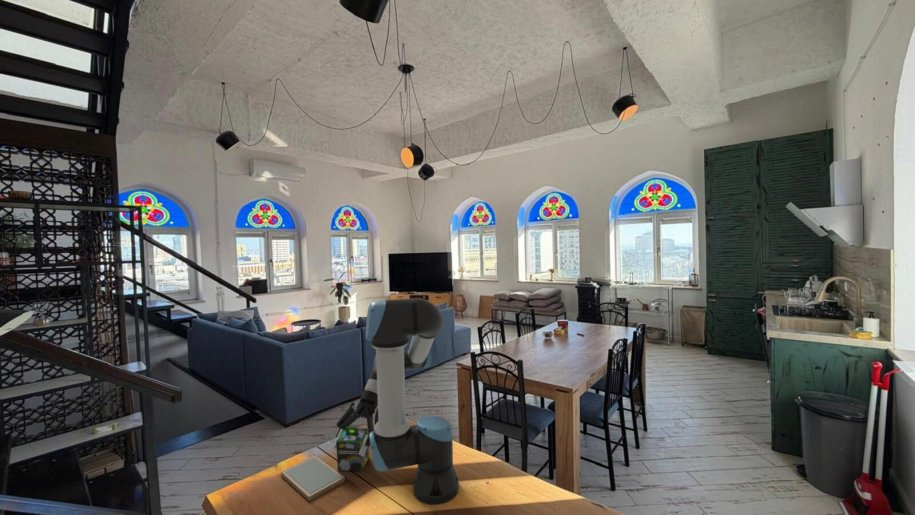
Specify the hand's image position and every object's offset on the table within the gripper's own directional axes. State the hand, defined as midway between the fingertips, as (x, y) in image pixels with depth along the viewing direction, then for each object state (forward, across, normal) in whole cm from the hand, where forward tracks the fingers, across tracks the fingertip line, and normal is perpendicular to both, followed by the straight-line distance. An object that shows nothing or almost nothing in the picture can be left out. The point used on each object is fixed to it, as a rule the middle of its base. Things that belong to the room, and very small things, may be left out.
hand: (348, 451), depth 140 cm
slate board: (+11, +8, +2) cm, 14 cm away
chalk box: (+3, 0, -6) cm, 7 cm away
